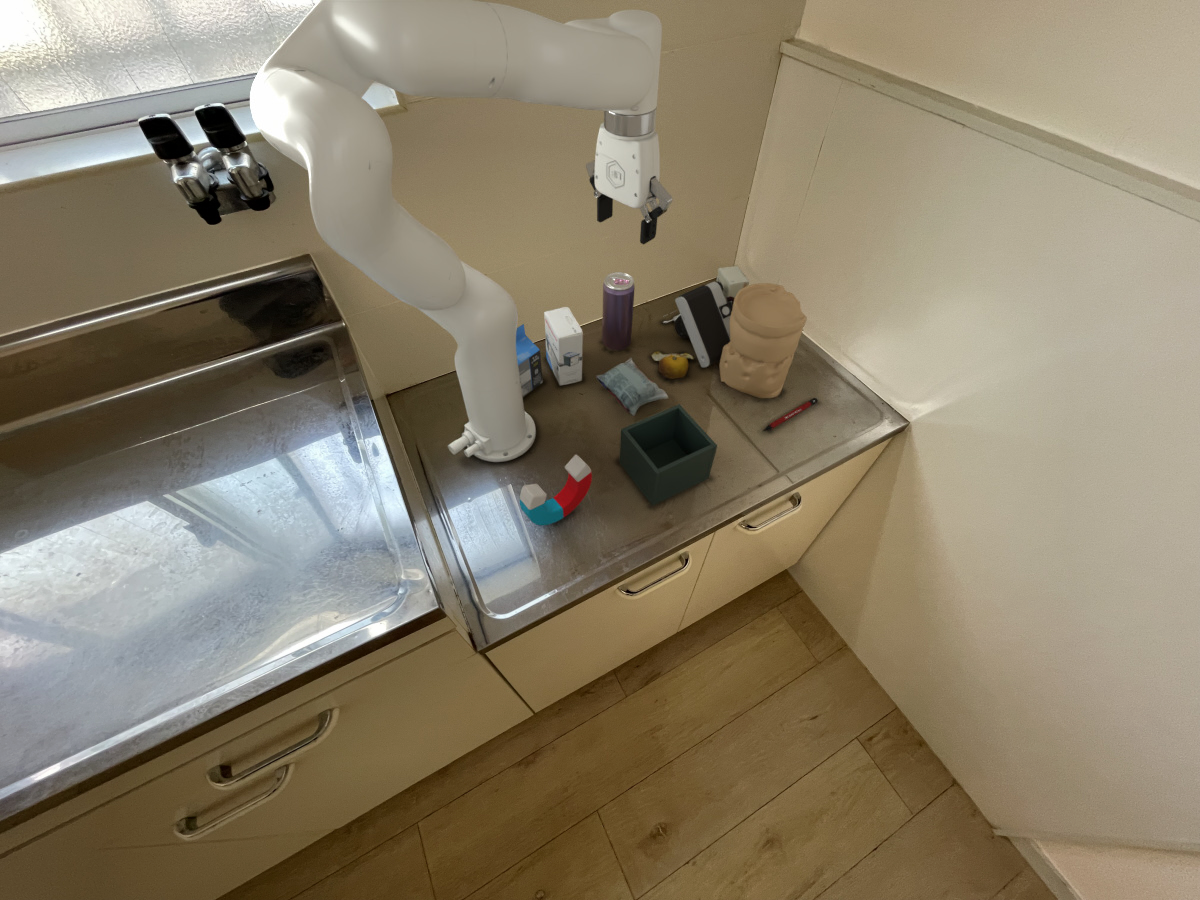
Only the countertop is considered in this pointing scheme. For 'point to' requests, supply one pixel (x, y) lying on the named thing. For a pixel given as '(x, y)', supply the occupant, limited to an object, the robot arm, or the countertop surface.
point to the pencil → (791, 414)
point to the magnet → (563, 501)
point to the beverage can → (617, 311)
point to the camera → (705, 321)
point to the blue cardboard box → (528, 362)
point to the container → (761, 339)
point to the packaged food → (630, 386)
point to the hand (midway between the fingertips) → (625, 229)
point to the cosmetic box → (732, 280)
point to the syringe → (673, 318)
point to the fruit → (672, 364)
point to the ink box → (564, 345)
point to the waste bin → (666, 453)
